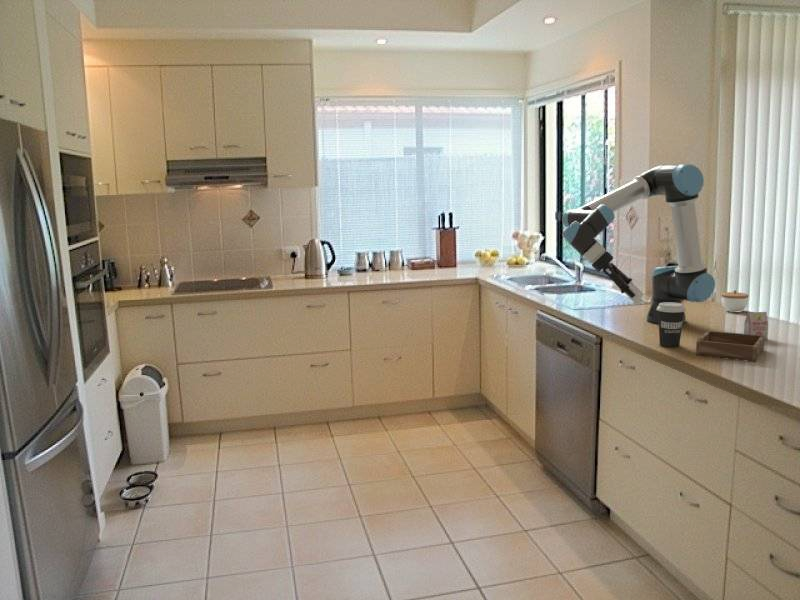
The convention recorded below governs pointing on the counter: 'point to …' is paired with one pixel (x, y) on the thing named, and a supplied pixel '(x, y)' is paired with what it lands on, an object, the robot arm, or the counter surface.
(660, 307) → the coffee cup
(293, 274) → the counter surface
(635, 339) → the counter surface
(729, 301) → the lidded jar
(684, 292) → the robot arm
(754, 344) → the walnut crate
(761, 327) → the small food carton
